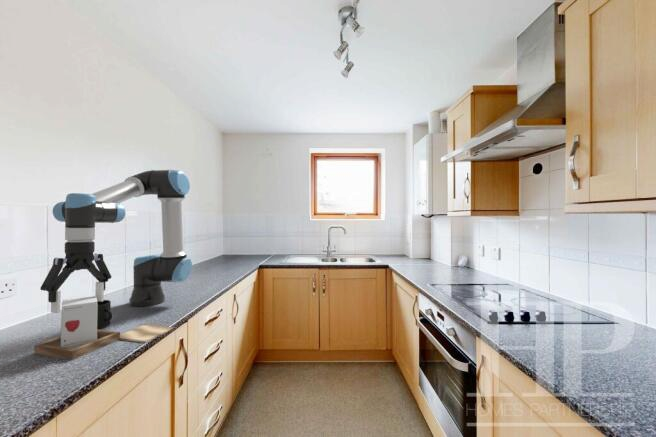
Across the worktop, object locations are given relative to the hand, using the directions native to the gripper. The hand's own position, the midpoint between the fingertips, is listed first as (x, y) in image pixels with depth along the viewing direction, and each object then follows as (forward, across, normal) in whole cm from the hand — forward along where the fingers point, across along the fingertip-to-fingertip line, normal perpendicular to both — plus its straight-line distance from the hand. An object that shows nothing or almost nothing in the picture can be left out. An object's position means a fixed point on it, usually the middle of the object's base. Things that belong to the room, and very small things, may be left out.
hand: (78, 306), depth 98 cm
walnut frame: (+13, 0, 0) cm, 13 cm away
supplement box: (+13, 0, 0) cm, 13 cm away
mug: (+13, -15, -11) cm, 23 cm away
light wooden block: (+13, -14, +12) cm, 23 cm away
